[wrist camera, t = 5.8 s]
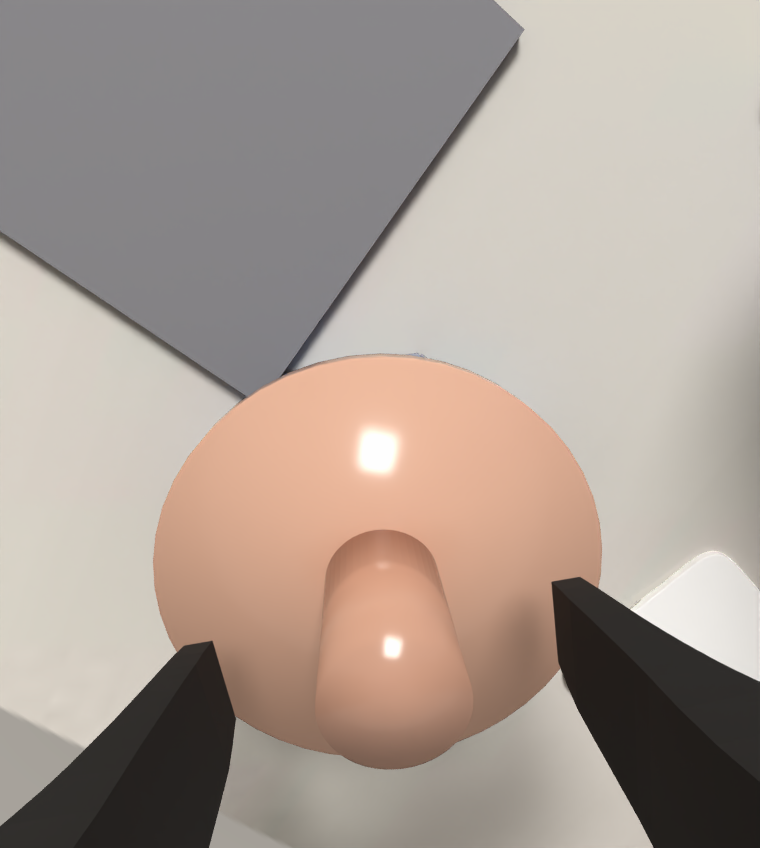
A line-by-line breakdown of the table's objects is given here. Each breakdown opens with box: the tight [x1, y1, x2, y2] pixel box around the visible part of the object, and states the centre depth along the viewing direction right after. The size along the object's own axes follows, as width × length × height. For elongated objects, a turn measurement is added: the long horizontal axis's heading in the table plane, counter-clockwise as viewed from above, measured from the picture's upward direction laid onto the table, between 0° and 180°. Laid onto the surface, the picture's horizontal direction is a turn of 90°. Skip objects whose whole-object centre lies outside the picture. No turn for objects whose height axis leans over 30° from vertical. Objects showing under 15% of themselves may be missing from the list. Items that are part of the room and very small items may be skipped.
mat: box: [0, 0, 524, 396], centre depth 14 cm, size 12×12×1 cm
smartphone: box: [630, 551, 760, 681], centre depth 21 cm, size 7×1×15 cm
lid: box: [153, 354, 602, 769], centre depth 12 cm, size 11×11×5 cm
